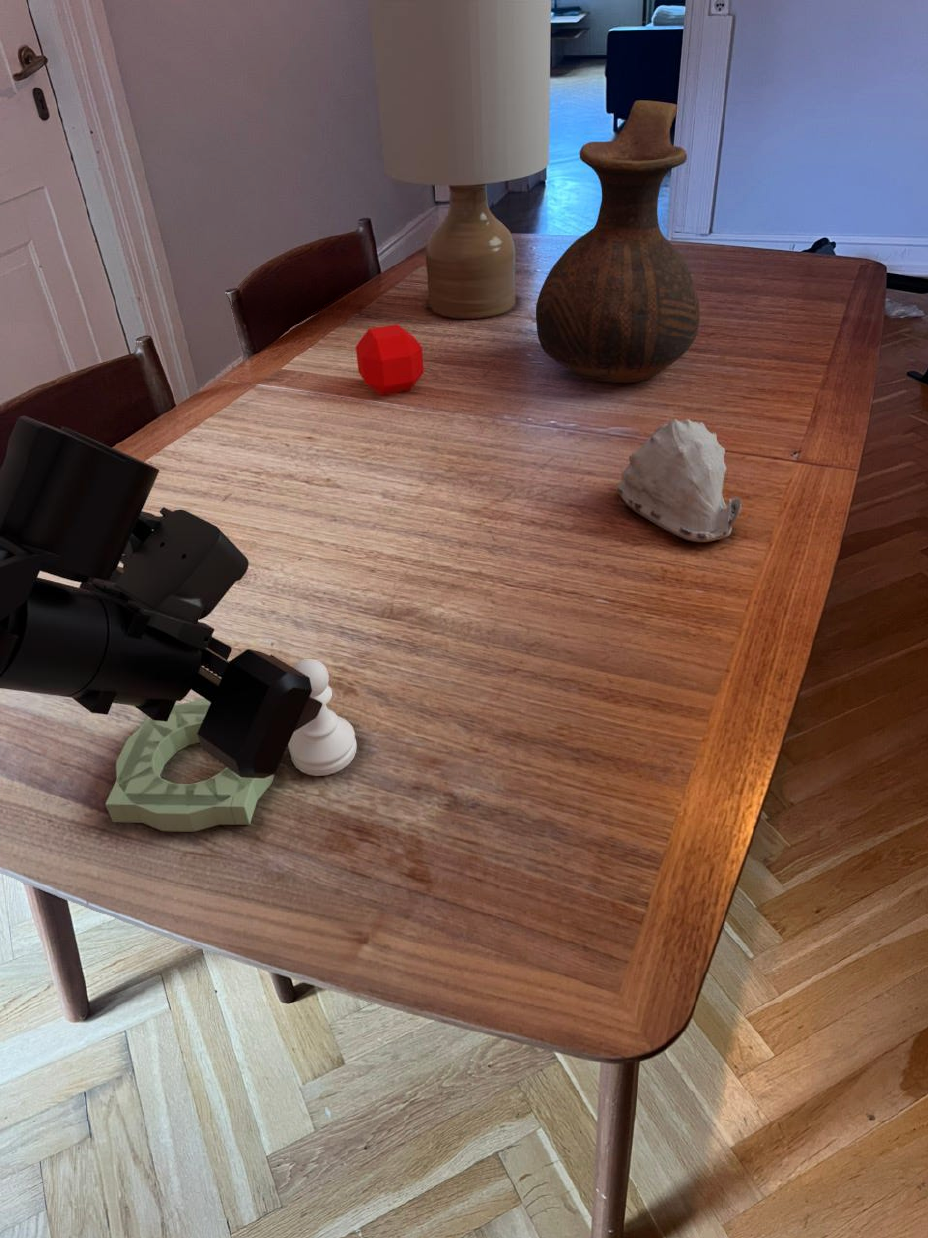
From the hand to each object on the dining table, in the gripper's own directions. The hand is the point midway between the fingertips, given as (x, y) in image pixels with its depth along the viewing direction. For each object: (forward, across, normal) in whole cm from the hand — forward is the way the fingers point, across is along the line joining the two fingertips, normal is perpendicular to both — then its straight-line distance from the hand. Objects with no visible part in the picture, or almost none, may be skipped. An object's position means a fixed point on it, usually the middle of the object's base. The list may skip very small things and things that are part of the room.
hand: (271, 680), depth 60 cm
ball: (+46, +41, -31) cm, 69 cm away
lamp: (+67, +52, -53) cm, 100 cm away
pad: (+4, +6, +10) cm, 12 cm away
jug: (+62, +20, -47) cm, 80 cm away
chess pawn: (+9, 0, +5) cm, 10 cm away
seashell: (+42, -5, -28) cm, 51 cm away
